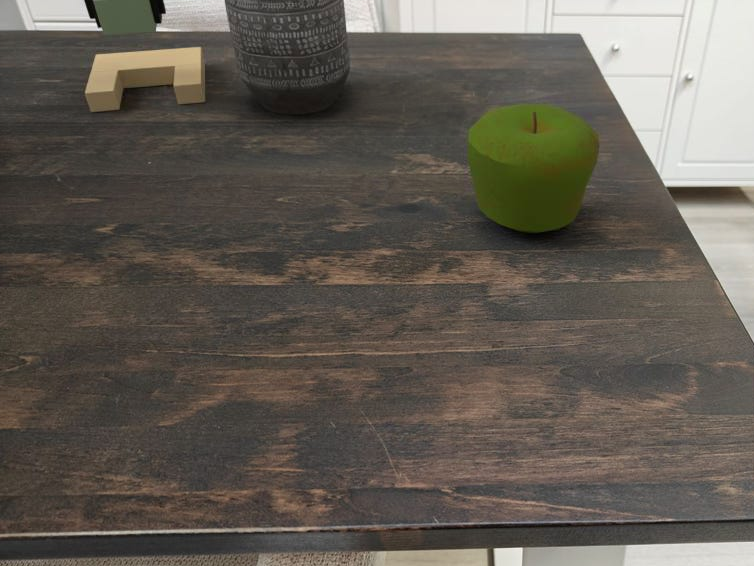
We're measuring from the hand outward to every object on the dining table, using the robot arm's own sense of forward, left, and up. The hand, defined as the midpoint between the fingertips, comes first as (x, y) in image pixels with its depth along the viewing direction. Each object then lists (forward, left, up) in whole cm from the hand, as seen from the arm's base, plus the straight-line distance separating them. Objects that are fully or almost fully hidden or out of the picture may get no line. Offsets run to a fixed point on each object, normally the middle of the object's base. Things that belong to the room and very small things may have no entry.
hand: (130, 20), depth 92 cm
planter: (+19, -6, -10) cm, 22 cm away
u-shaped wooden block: (0, +3, -10) cm, 10 cm away
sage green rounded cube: (0, 0, -1) cm, 1 cm away
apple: (+39, -42, -10) cm, 58 cm away
